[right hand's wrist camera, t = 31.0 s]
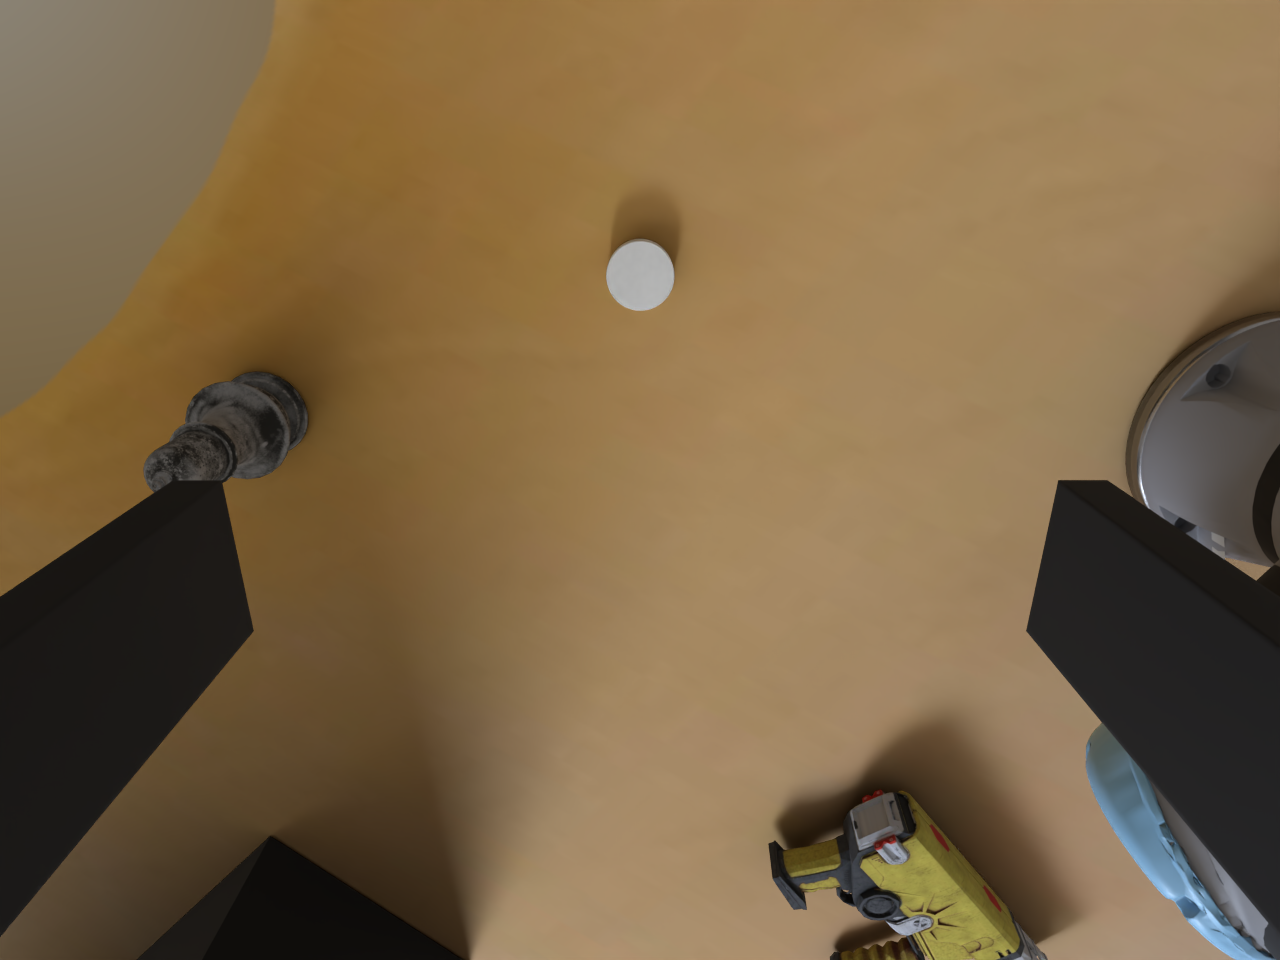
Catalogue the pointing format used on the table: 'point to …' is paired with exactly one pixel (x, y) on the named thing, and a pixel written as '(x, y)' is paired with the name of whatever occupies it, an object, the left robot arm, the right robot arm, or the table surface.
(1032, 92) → the table surface
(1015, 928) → the toy gun
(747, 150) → the table surface
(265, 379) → the grey chess piece
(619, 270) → the cap
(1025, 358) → the table surface
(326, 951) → the cardboard box
